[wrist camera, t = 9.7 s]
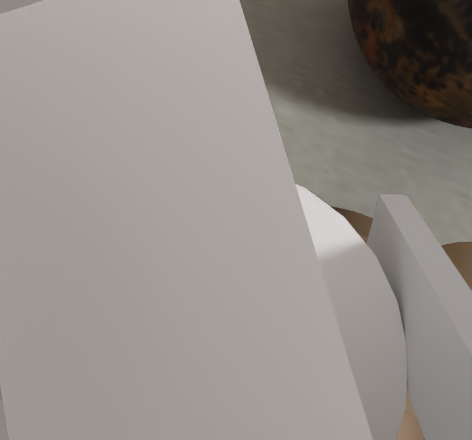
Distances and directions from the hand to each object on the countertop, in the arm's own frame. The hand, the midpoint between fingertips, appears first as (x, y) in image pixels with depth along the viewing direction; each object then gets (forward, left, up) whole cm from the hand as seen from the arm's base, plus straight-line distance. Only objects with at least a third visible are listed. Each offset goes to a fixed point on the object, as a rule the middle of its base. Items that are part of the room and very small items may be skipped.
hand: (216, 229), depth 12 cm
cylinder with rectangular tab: (0, +3, -4) cm, 5 cm away
